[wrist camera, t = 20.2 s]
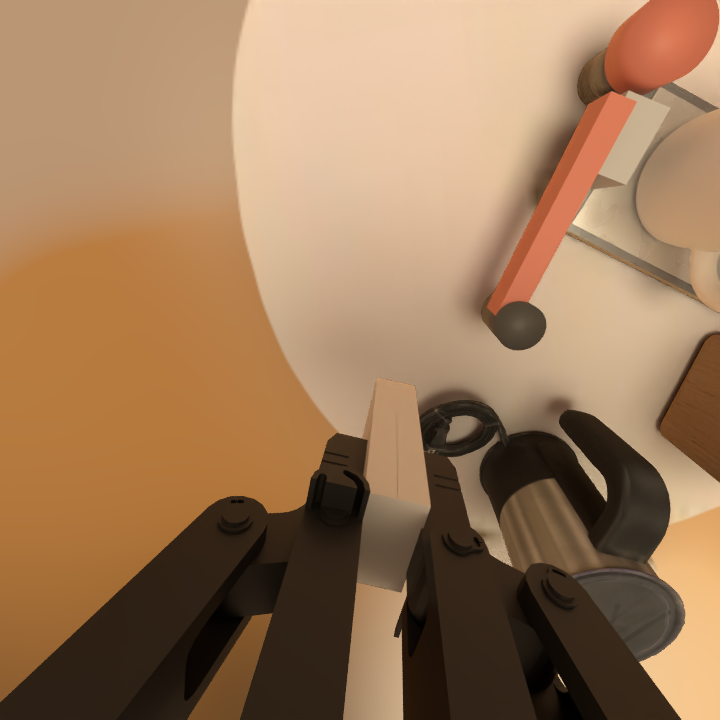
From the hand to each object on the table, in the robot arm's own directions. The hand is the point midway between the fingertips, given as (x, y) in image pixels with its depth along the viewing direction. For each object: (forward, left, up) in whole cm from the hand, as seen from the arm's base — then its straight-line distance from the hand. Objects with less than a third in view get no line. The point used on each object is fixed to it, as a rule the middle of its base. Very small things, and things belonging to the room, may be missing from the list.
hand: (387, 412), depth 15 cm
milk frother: (-9, -15, -19) cm, 26 cm away
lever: (+12, -7, -16) cm, 21 cm away
